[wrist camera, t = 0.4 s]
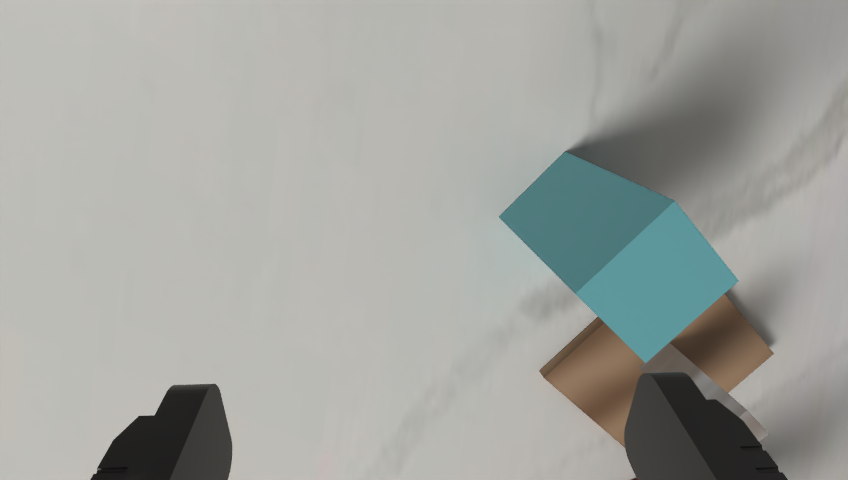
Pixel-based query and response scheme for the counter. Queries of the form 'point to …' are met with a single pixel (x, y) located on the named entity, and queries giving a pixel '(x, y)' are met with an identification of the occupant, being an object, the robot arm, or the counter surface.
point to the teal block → (620, 251)
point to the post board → (617, 362)
